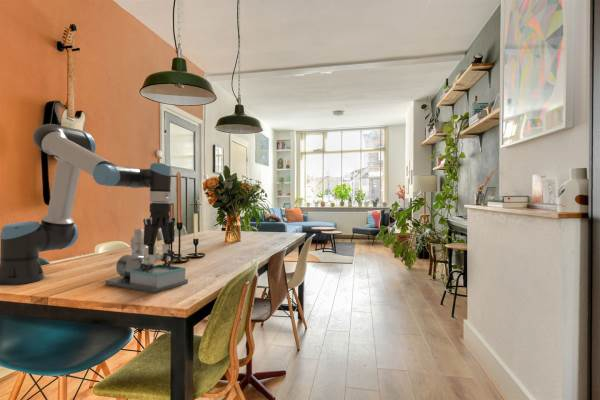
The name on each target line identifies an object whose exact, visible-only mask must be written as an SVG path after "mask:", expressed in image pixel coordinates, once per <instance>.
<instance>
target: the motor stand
mask: <svg viewBox="0 0 600 400" xmlns="http://www.w3.org/2000/svg"><path fill="white" fill-rule="evenodd" d="M144 260H145V259H144V256H136V255H132V254H124V255H122V256H121V257H120V258H119V259H118V261H117V263H116V267H115V269H116V272H117V274H118V275H119V276H120V277H119V276H118V277H116V278H111V279H107V280H105V286H106V285H108V286H113V287H118V288H123V289H126V290H127V289H128V290H134V291H138V292H143V293H149V294H155V293H156V294H157V293H159V292H160V293H161V292H163V291H166V290H169V289H172V288H177V287H179V286H182V285H185V284H189V283H188V280H189V278H186V267H183V266H175V265H170V267H167V266H163V264H161V263H160V264H151V265H146V264H144Z"/></svg>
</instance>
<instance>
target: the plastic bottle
mask: <svg viewBox="0 0 600 400" xmlns="http://www.w3.org/2000/svg"><path fill="white" fill-rule="evenodd" d="M133 233H134V235H133V236H132V237H131V239H130V249H131V255H136V256H144V253H145V247H147V246H146V245H144V228H135V229H133Z"/></svg>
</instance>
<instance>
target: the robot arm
mask: <svg viewBox="0 0 600 400" xmlns="http://www.w3.org/2000/svg"><path fill="white" fill-rule="evenodd" d="M32 140H33V141H32V142H33V143H34V145H35V147H36V148H38V149H39V150H41V151H42V152H43V153H45V154H47V155H50V156H53V158H54V159H55V160H56V165H55V166H56V168H55V172H54V178H53V182H52V188H51V192H50V199H49V203H48V207H47V213H46V215H44V216H43V217H41V221H40V222H39V221H34V220H32V221H31V220H29V221H19V222H14V223H8V224H6V225H4V226H2V228H1V229H0V230H1V232H0V286H14V285H23V284H29V283H31V284H32V283H34V282H38V281H42V280H43V279H45V277H44V275H45V273H44V270H43V268H42V265H41V263H40V259H39V257H40V256H39V255H40V254H39V253H40V252H47V251H57V250H58V251H60V250H64V249H68V248H71V246H73V245H75V243H76V242H77V240H78V237H79V230H78V226H77V225H76V224H75V220H74V219H73V218H72V214H73V209H74V204H75V199H76V194H77V190H78V184H79V181H80V180H79V178H80V173H81V171H83V172H85V173H87V175H90V176H91V177H92V179H93V180H94V181H95V183H96V184H98V185H100V186H106V187H123V188H124V187H125V188H133V189H140V188H141V189H142V188H143V189H144V188H146V189H147V188H149V202H150V203H149V213H150V216H149V217H148V218H144V219H143V220H142V221H143V225H144V227H143V232H144V233H143V235H144V245H146V247H148V254H149V255H150V257H149V263H154V265H156V264H157V260H156V253H157V245H155V244H156V241H157V236H158V232H159V230H160V229H161V235H162V238H163V244H162V245H161V246H162V248H161V251H162V252H161V255H163V254H164V253H168V252H167V251H168V250H171V245H172V244H173V243H174V242H175V222H176V218H175V217H171V216H170V212H171V200H172V199H171V197H172V195H171V194H172V193H171V187H172V186H171V185H172V168H171V167H172V166H171V165H170V164H169V163H164V162H161V163H160V162H151V164H150V167H149V168H137V167H128V166H121V165H117V164H114V163H113V162H111V161H109V160H107V159H105V158H104V157H101V156H100V155H98V154H96V153H95V152H96V148H97V147H96V142H95V139H94V138H93V136H92V135H91V133H89V132H88V131H84V130H81V129H79V128H78V129H77V128H72V127H68V126H63V125H60V124H54V123H46V124H45V123H44V124H42V125H40V126H38V127H37V128H36V129H35V130H34V132H33V135H32ZM163 256H164V255H163Z"/></svg>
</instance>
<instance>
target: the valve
mask: <svg viewBox="0 0 600 400" xmlns="http://www.w3.org/2000/svg"><path fill="white" fill-rule="evenodd" d="M167 252H168V253H164V254H163V255H164V256H163V255H162V254H160V253H159V252H156V261H158V260H161V261H162V263H163V262H164V263H163V264H162V265H163V266H167V267H170V266H171V265H174V264H175V262H174V260H175V259H176V255H174V254H175V251H174V250H171V249H170V250H168V251H167ZM149 257H150V255H149V254H148V246H146V247H145V253H144V259H145V260H144V264H146V265H151V264H154V263H149ZM154 265H155V264H154Z"/></svg>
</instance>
